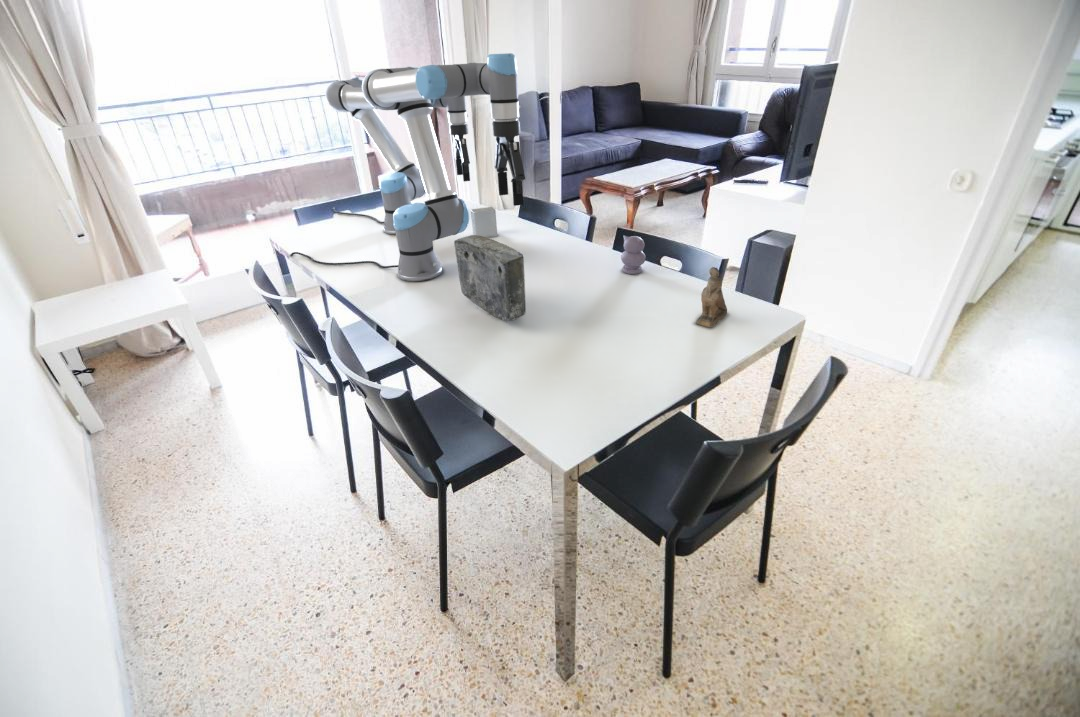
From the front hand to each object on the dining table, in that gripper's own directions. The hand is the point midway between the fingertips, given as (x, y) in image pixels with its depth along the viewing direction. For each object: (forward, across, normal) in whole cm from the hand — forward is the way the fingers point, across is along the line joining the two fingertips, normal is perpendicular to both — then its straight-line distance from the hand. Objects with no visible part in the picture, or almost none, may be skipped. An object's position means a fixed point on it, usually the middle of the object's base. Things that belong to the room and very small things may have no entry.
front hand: (510, 199), depth 146 cm
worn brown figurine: (+29, -42, -43) cm, 67 cm away
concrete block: (+29, -12, +11) cm, 33 cm away
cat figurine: (+29, -2, -42) cm, 51 cm away
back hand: (+8, +79, -4) cm, 79 cm away
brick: (+29, +60, -7) cm, 67 cm away
